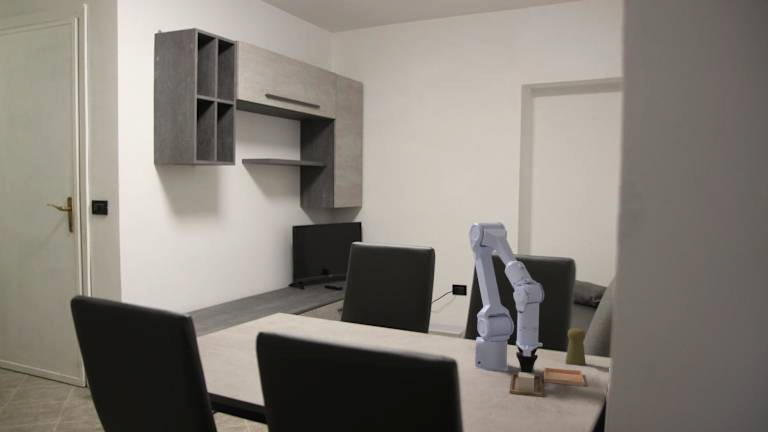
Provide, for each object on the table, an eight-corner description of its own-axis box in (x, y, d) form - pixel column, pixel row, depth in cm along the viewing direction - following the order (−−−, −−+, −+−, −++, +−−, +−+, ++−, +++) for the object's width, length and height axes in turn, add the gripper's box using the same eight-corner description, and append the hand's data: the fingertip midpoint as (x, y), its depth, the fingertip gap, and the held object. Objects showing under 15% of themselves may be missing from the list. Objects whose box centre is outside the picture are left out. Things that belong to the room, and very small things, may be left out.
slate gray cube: (518, 382, 153) (519, 367, 153) (519, 377, 157) (519, 363, 157) (533, 383, 152) (534, 369, 152) (533, 379, 156) (534, 364, 156)
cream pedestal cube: (517, 391, 146) (518, 376, 146) (518, 386, 150) (518, 372, 150) (533, 393, 145) (534, 378, 145) (533, 388, 149) (534, 373, 148)
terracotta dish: (543, 383, 154) (544, 378, 154) (543, 372, 164) (543, 367, 164) (584, 387, 151) (584, 382, 151) (581, 375, 162) (581, 370, 161)
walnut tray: (509, 395, 144) (509, 390, 144) (511, 377, 159) (511, 373, 159) (542, 398, 142) (542, 394, 142) (541, 380, 157) (541, 375, 157)
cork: (587, 367, 170) (588, 331, 169) (566, 366, 171) (567, 330, 171) (584, 361, 176) (585, 327, 175) (564, 360, 177) (565, 326, 177)
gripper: (543, 333, 146) (541, 385, 147) (542, 322, 160) (541, 368, 161) (515, 331, 148) (514, 382, 149) (517, 320, 162) (516, 366, 163)
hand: (526, 375), depth 155 cm, fingers open, 6 cm apart
